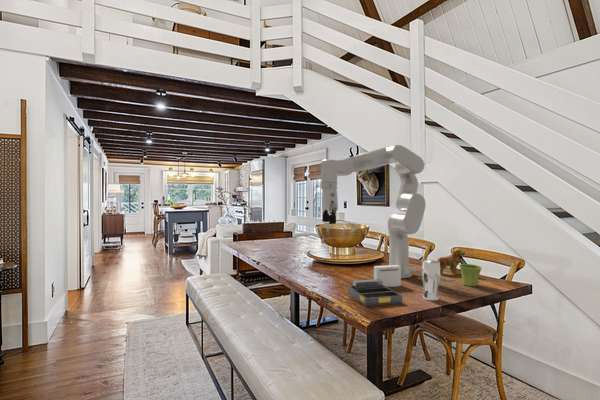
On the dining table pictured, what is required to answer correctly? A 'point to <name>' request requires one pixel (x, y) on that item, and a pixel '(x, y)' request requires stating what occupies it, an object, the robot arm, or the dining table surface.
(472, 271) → the plant pot
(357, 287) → the tray
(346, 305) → the dining table surface
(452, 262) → the figurine
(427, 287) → the beer glass
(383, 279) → the panel
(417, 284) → the dining table surface
